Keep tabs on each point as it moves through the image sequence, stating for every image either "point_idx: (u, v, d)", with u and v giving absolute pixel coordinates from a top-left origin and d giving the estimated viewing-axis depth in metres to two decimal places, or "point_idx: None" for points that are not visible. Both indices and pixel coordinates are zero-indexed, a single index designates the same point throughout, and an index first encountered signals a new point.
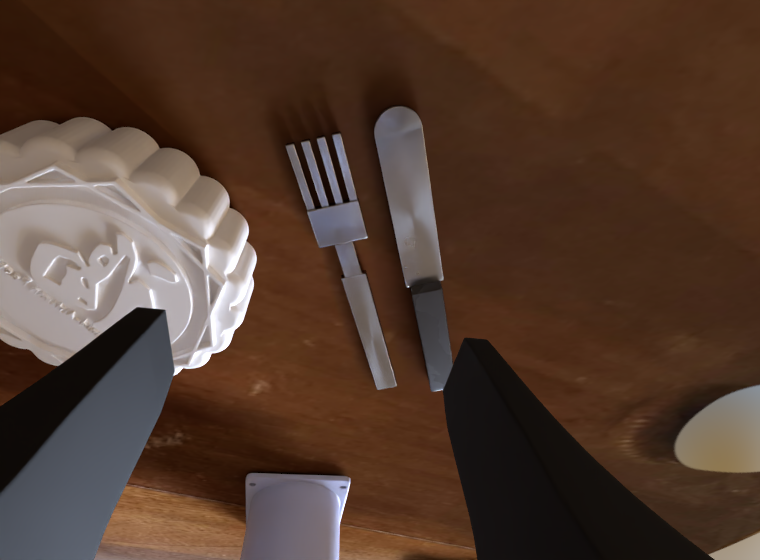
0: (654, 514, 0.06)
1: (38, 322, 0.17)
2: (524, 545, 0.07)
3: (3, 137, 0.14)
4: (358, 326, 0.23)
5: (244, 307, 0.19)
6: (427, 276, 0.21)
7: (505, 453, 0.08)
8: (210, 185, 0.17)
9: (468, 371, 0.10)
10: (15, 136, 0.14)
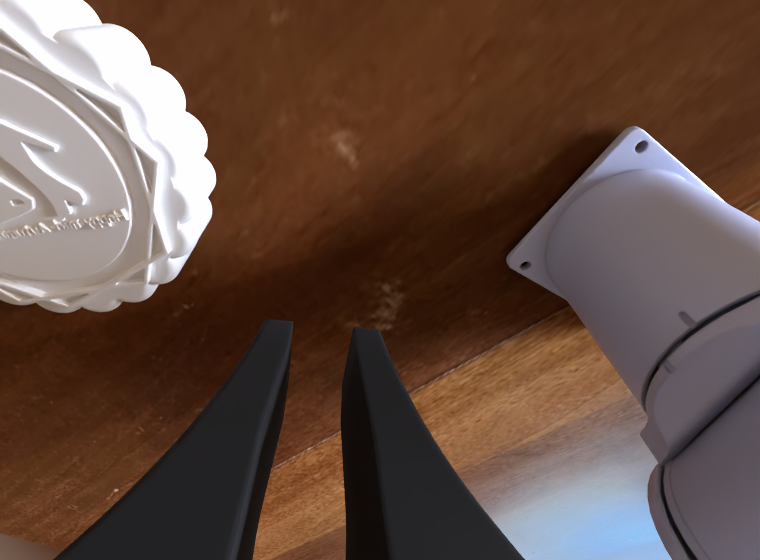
0: (479, 510, 0.06)
1: (59, 264, 0.15)
2: (363, 544, 0.06)
3: None
4: None
5: (84, 30, 0.12)
6: None
7: (362, 446, 0.07)
8: None
9: (351, 362, 0.09)
10: None
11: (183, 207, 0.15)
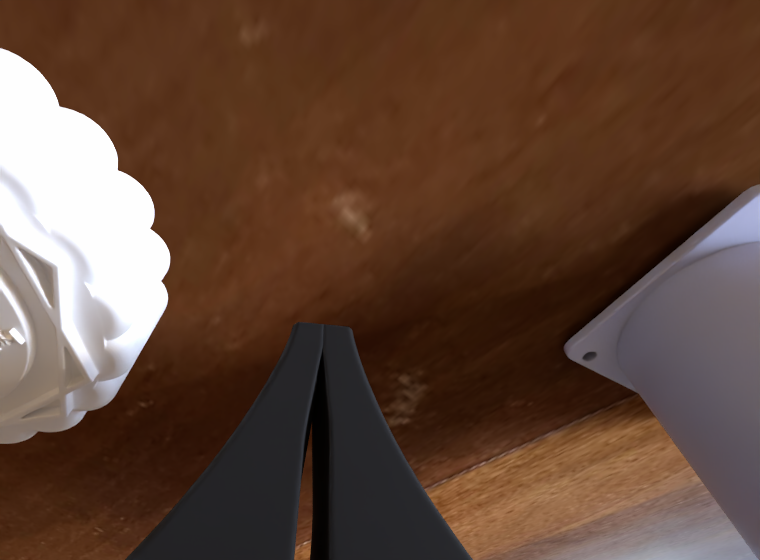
0: (431, 509, 0.06)
1: None
2: (318, 543, 0.06)
3: None
4: None
5: None
6: None
7: (324, 445, 0.07)
8: None
9: None
10: None
11: (110, 320, 0.10)
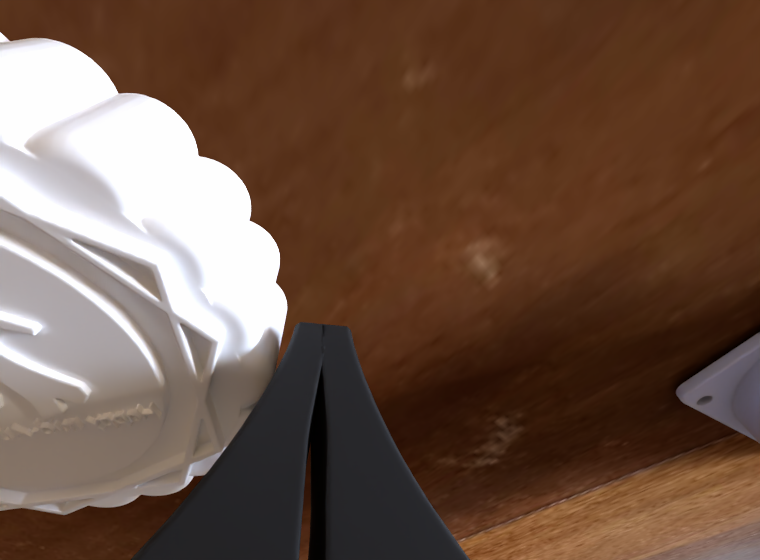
0: (428, 509, 0.06)
1: (45, 469, 0.10)
2: (316, 543, 0.06)
3: None
4: None
5: (89, 126, 0.06)
6: None
7: (321, 445, 0.07)
8: None
9: None
10: None
11: (251, 390, 0.09)
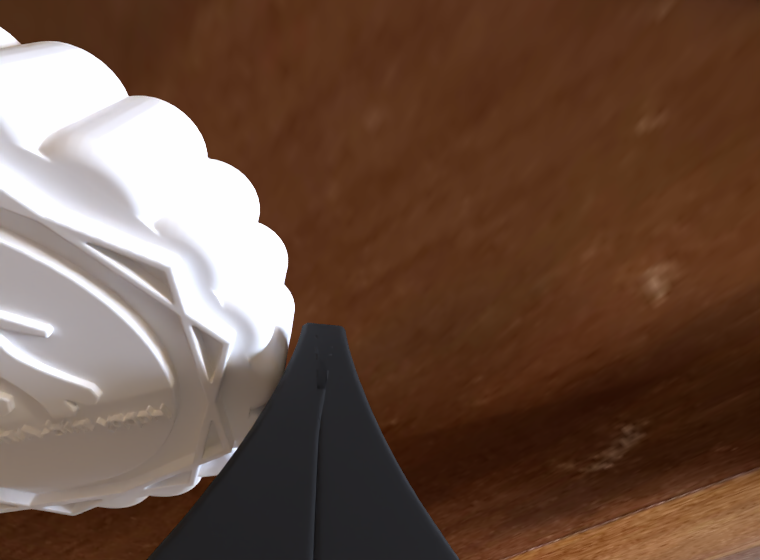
0: (418, 509, 0.06)
1: (55, 471, 0.10)
2: None
3: None
4: None
5: (103, 129, 0.06)
6: None
7: None
8: None
9: None
10: None
11: (261, 391, 0.09)
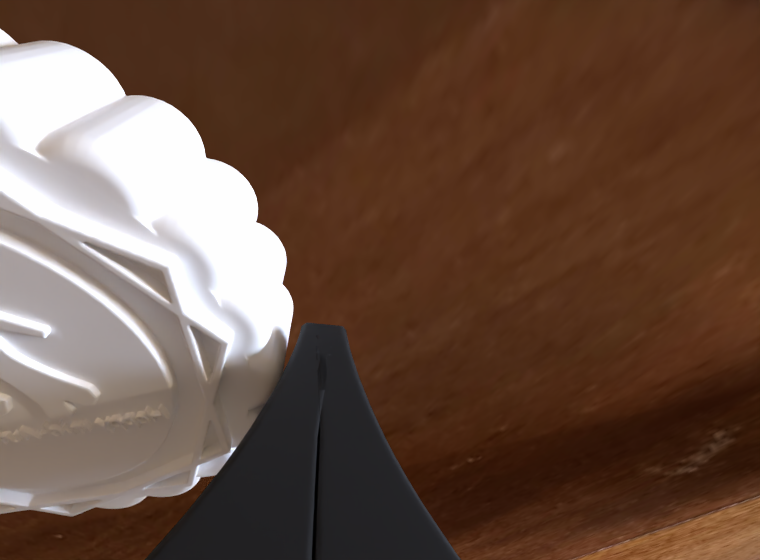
0: (420, 509, 0.06)
1: (54, 471, 0.10)
2: None
3: None
4: None
5: (100, 129, 0.06)
6: None
7: None
8: None
9: None
10: None
11: (260, 391, 0.09)
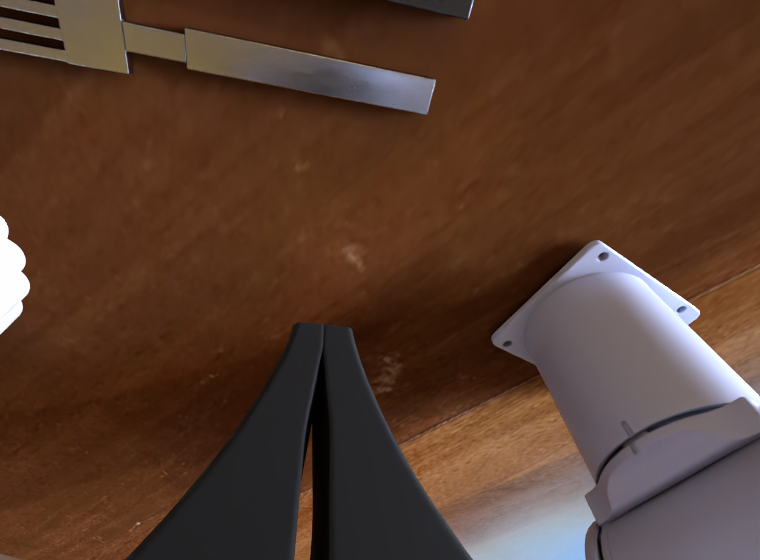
0: (431, 509, 0.06)
1: None
2: (318, 543, 0.06)
3: None
4: (282, 84, 0.15)
5: None
6: None
7: (323, 445, 0.07)
8: None
9: None
10: None
11: None
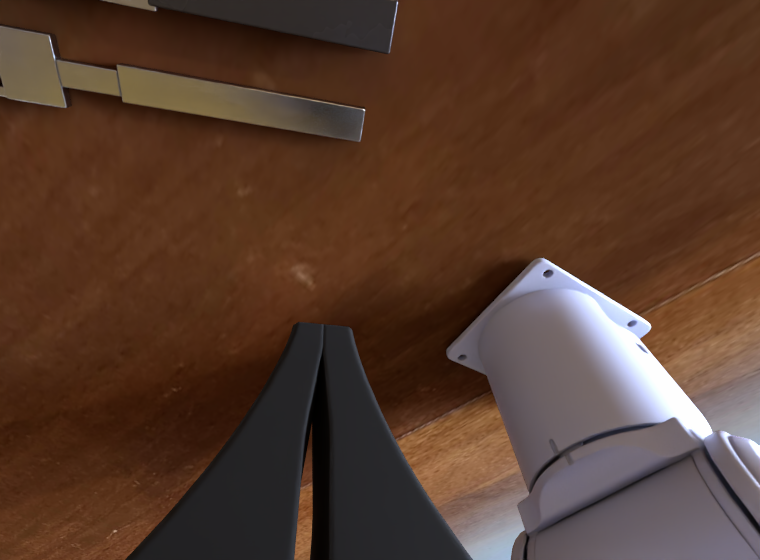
0: (431, 509, 0.06)
1: None
2: (318, 544, 0.06)
3: None
4: (216, 115, 0.16)
5: None
6: None
7: (324, 445, 0.07)
8: None
9: None
10: None
11: None
